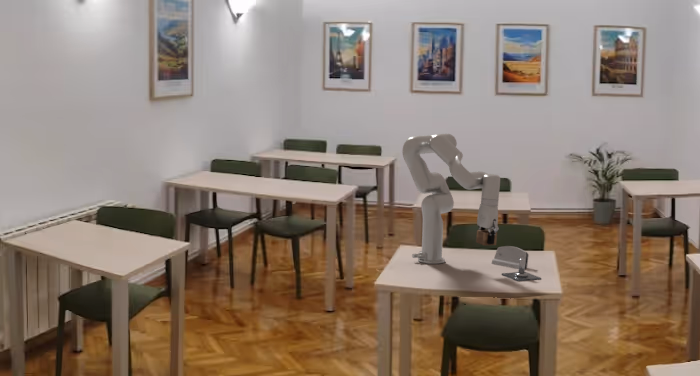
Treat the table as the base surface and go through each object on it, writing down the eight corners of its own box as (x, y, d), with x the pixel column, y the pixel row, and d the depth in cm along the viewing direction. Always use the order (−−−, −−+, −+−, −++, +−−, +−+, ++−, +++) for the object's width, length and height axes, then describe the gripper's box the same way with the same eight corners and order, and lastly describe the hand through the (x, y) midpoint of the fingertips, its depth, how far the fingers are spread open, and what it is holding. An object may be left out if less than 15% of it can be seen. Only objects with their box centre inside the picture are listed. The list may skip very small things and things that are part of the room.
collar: (483, 245, 349) (484, 233, 348) (476, 242, 355) (477, 230, 354) (496, 244, 351) (497, 232, 351) (488, 241, 357) (489, 229, 356)
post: (517, 281, 339) (518, 262, 338) (501, 274, 350) (502, 257, 349) (540, 279, 344) (541, 261, 343) (524, 272, 355) (525, 255, 354)
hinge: (490, 263, 372) (495, 242, 373) (495, 265, 375) (500, 244, 377) (521, 269, 361) (526, 248, 362) (526, 271, 364) (531, 250, 365)
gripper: (471, 198, 356) (468, 237, 359) (493, 206, 341) (489, 246, 344) (486, 198, 359) (482, 237, 362) (507, 205, 344) (504, 246, 347)
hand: (486, 241), depth 353 cm, fingers closed on collar, 6 cm apart
